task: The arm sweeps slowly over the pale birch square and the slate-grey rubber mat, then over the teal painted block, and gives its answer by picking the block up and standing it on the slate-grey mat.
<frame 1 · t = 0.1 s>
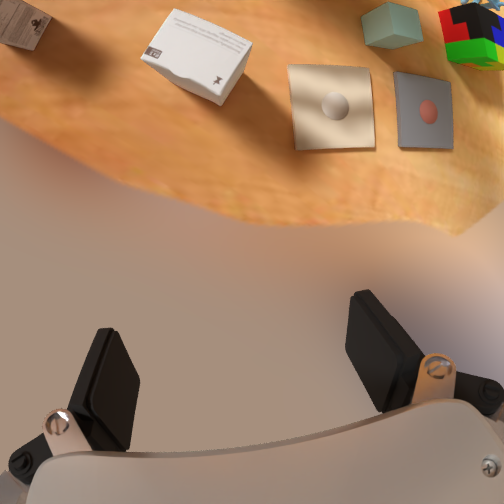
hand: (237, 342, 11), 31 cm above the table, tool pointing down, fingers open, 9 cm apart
skincare box: (203, 76, 33), on the table
coffee box: (26, 29, 24), on the table
birch pad: (332, 106, 37), on the table
puzzle toy: (460, 41, 32), on the table
teal block: (377, 33, 32), on the table
slate mat: (424, 111, 38), on the table
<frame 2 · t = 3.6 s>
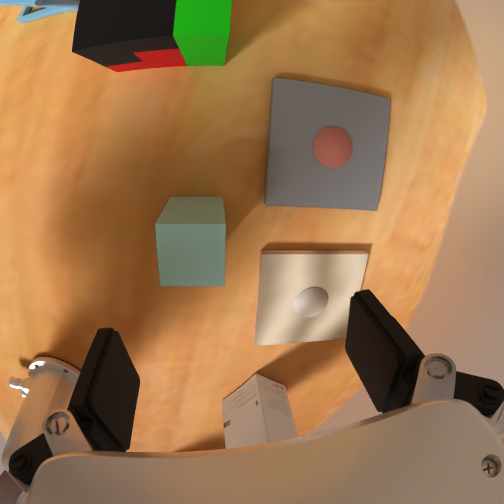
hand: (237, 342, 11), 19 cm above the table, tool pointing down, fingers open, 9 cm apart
skincare box: (252, 393, 40), on the table
birch pad: (308, 297, 34), on the table
puzzle toy: (172, 21, 20), on the table
teal block: (196, 221, 29), on the table
slate mat: (329, 146, 27), on the table
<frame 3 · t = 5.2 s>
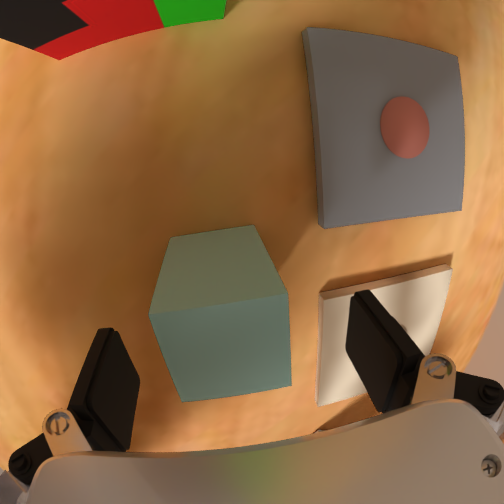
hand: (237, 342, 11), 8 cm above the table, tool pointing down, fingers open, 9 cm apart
birch pad: (381, 337, 23), on the table
teal block: (218, 268, 18), on the table
slate mat: (396, 126, 16), on the table
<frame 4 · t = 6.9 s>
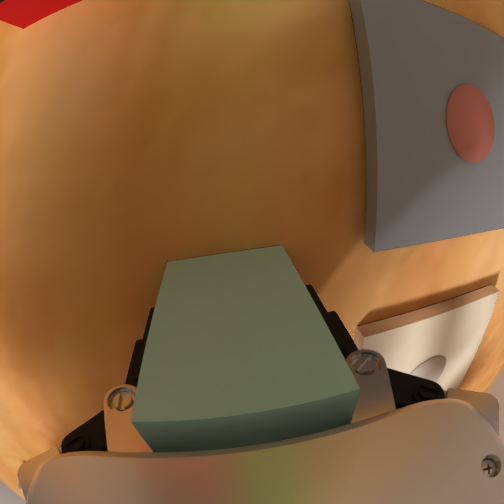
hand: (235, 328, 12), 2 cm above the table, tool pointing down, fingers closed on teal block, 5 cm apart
birch pad: (417, 368, 18), on the table
teal block: (232, 302, 14), on the table, touching gripper
slate mat: (458, 121, 11), on the table
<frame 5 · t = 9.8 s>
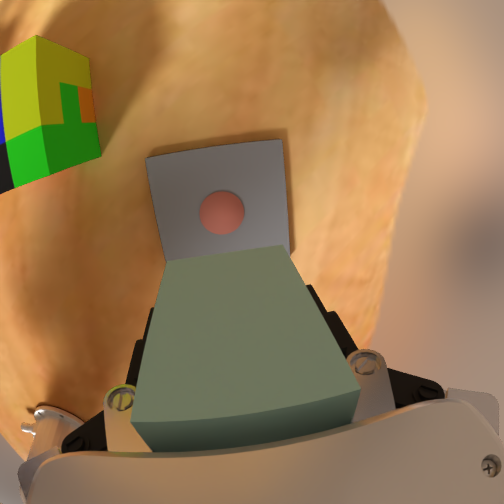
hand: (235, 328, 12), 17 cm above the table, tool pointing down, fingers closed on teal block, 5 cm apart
puzzle toy: (51, 121, 22), on the table
teal block: (232, 301, 14), point 15 cm above the table, touching gripper
slate mat: (221, 210, 28), on the table
when the fingers open (4 cm above the table, at t = 13.0 s): teal block stays where it is, resting on slate mat.
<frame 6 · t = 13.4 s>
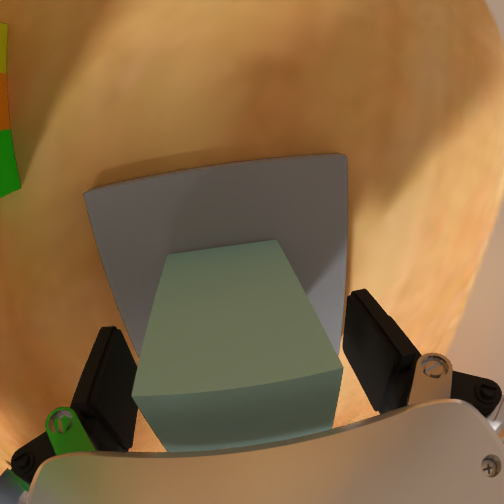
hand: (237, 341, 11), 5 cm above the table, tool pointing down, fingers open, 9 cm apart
teal block: (228, 293, 14), point 1 cm above the table, touching slate mat
slate mat: (229, 281, 15), on the table
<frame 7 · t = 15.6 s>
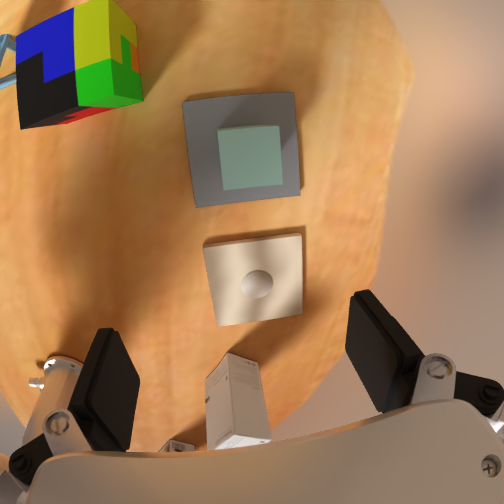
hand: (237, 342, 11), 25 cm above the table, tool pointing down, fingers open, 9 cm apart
skincare box: (231, 371, 46), on the table
coffee box: (175, 448, 57), on the table
birch pad: (255, 280, 39), on the table
chair: (14, 66, 22), on the table
puzzle toy: (99, 73, 26), on the table
teal block: (242, 149, 31), point 1 cm above the table, touching slate mat
slate mat: (242, 147, 32), on the table
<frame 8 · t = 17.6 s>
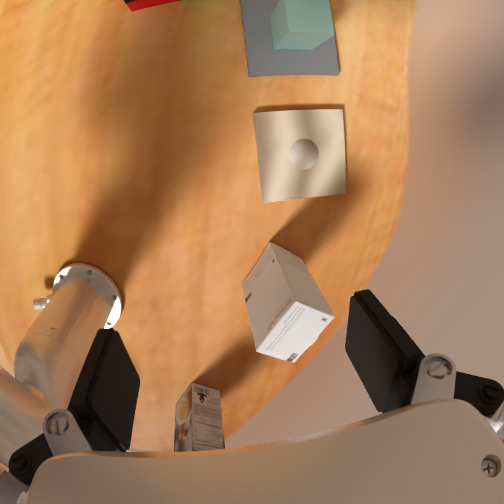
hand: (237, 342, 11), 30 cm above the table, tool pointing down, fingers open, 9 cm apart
skincare box: (271, 271, 45), on the table
coffee box: (197, 397, 55), on the table
birch pad: (301, 153, 38), on the table
teal block: (290, 32, 30), point 1 cm above the table, touching slate mat
slate mat: (289, 35, 31), on the table
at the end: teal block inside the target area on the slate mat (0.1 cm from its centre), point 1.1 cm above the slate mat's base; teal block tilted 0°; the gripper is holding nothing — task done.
